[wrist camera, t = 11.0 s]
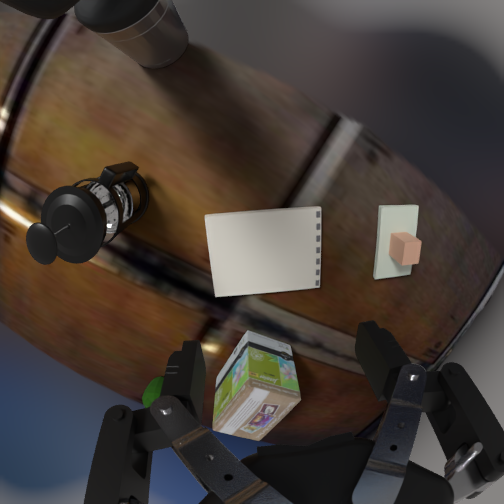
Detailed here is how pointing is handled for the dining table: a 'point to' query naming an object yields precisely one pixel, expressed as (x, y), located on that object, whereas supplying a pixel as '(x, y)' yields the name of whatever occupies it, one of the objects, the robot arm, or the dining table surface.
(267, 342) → the tea box
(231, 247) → the white notebook
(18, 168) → the dining table surface
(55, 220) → the french press
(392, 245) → the stub
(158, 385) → the bell pepper
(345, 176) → the dining table surface
